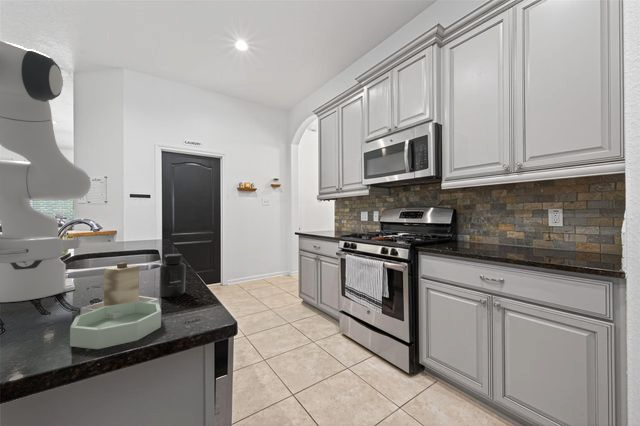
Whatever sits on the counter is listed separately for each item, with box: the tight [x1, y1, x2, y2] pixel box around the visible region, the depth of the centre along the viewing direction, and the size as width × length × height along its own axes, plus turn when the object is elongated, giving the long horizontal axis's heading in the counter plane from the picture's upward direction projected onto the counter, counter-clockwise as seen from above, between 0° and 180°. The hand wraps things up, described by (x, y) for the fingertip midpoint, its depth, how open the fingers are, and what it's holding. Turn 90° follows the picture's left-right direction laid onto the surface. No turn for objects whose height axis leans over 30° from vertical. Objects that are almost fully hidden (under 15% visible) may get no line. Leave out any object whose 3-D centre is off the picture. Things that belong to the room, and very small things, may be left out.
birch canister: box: [103, 262, 140, 306], centre depth 66 cm, size 5×5×12 cm
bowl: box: [69, 301, 162, 350], centre depth 55 cm, size 14×14×4 cm
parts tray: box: [80, 295, 160, 319], centre depth 66 cm, size 11×11×2 cm
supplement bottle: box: [158, 253, 186, 299], centre depth 79 cm, size 7×7×12 cm
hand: (62, 242), depth 54 cm, fingers open, 8 cm apart
